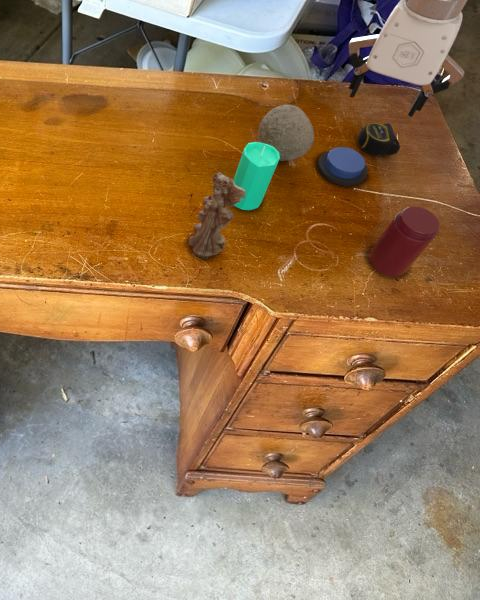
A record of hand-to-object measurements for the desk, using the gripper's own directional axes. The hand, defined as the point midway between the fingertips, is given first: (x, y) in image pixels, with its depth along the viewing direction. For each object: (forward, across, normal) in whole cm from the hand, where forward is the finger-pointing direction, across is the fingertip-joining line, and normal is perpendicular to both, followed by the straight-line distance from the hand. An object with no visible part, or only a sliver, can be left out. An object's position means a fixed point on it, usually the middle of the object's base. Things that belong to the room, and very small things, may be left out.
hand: (381, 102), depth 95 cm
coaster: (+15, -1, 0) cm, 15 cm away
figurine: (+15, -16, -31) cm, 38 cm away
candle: (+15, -14, -17) cm, 27 cm away
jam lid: (+13, -1, 0) cm, 13 cm away
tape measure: (+16, +3, +10) cm, 19 cm away
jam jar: (+16, +12, -18) cm, 27 cm away
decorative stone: (+15, -13, -3) cm, 20 cm away
